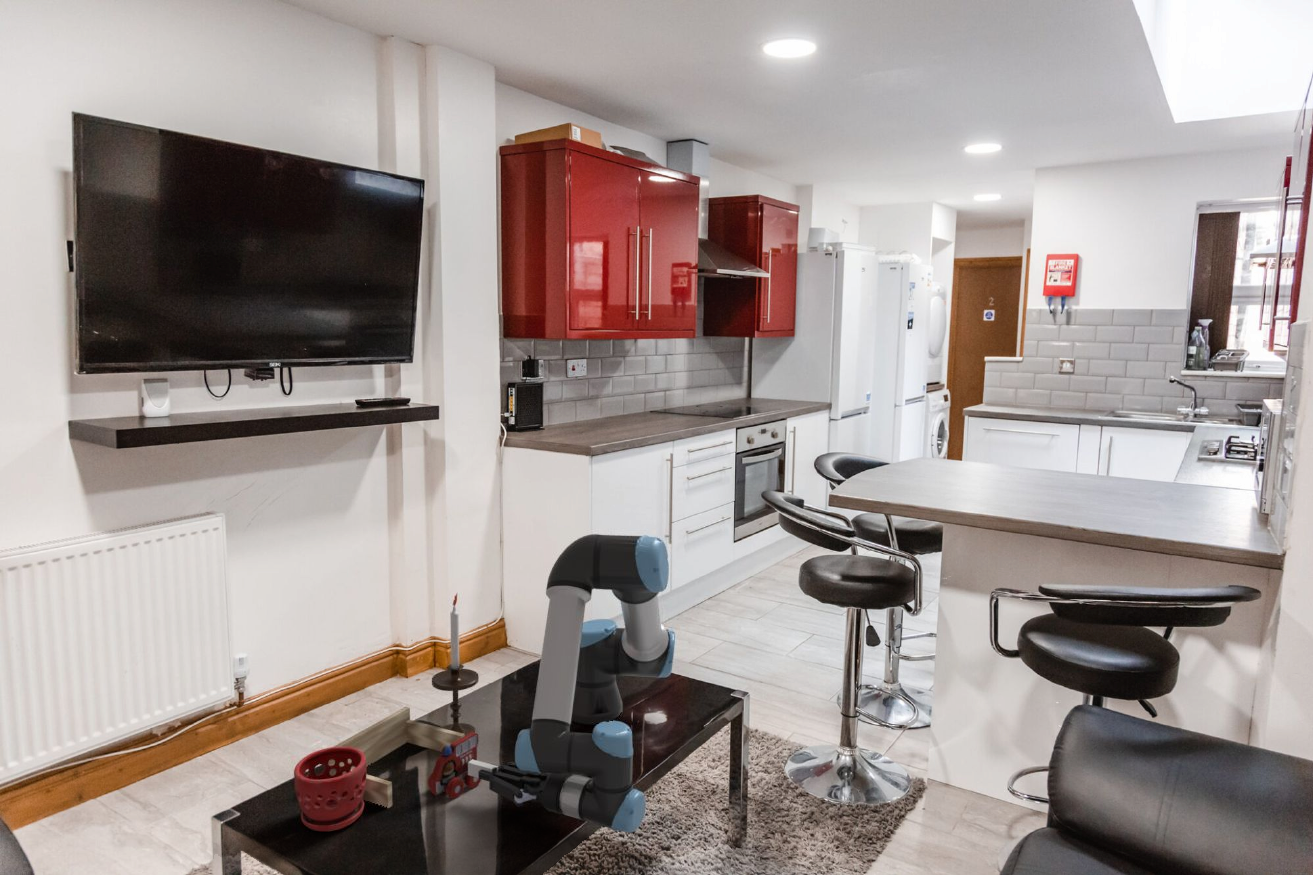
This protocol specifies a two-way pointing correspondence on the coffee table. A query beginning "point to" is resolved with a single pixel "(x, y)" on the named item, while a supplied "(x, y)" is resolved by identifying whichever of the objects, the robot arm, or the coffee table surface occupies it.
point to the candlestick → (455, 677)
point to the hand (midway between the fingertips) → (470, 767)
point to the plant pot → (331, 788)
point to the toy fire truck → (455, 767)
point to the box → (393, 747)
